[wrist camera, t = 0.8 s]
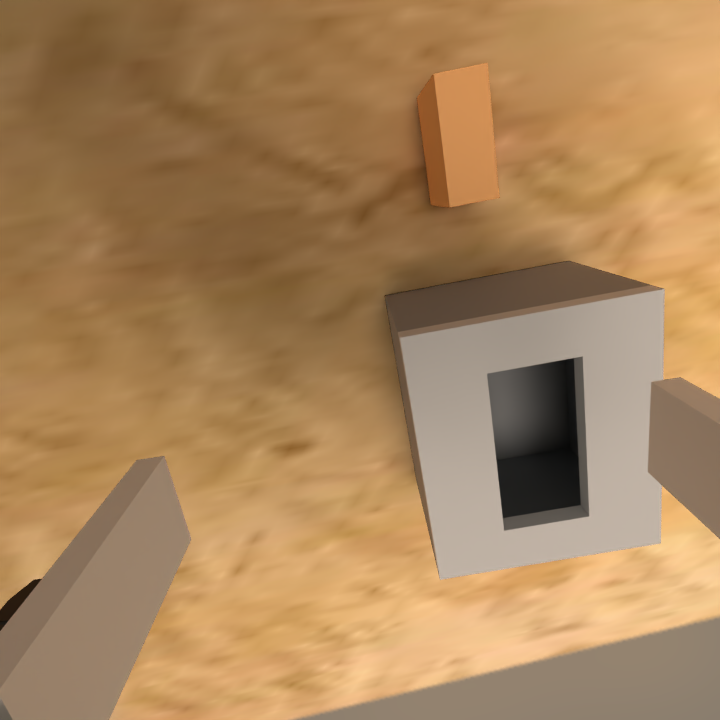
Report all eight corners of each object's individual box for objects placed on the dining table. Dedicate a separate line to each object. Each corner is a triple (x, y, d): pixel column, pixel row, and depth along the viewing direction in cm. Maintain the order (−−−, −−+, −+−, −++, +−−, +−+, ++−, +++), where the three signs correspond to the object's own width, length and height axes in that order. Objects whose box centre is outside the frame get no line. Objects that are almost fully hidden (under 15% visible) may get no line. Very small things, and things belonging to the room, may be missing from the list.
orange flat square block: (416, 97, 28) (433, 73, 23) (459, 89, 28) (487, 62, 22) (431, 205, 30) (449, 207, 24) (471, 197, 30) (499, 197, 24)
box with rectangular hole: (384, 295, 32) (399, 337, 22) (568, 260, 31) (664, 289, 22) (416, 479, 36) (440, 579, 27) (578, 451, 36) (660, 543, 26)
